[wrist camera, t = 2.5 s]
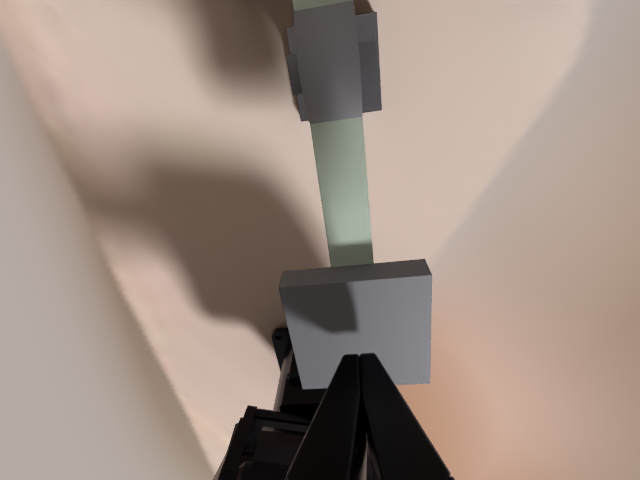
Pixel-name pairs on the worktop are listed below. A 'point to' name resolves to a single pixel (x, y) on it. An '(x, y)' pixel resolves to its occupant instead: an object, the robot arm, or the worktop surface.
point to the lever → (348, 225)
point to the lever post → (367, 65)
